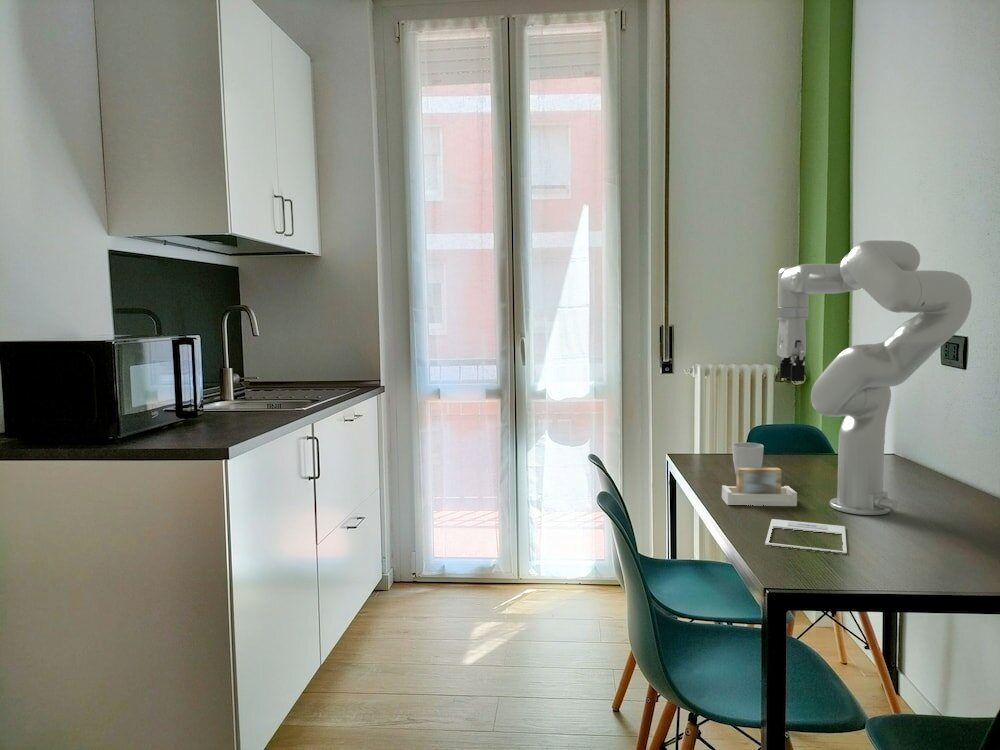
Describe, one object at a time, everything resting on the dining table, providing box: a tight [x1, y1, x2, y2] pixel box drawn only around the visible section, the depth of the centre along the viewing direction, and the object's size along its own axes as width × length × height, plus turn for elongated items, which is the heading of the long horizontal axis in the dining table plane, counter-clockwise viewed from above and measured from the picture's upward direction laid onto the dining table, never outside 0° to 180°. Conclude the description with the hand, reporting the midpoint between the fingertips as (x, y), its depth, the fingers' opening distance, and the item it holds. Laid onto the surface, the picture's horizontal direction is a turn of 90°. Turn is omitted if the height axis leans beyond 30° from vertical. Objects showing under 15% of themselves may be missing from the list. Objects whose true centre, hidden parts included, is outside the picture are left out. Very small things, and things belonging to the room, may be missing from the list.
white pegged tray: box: [721, 484, 798, 507], centre depth 173 cm, size 16×7×3 cm, turn 84°
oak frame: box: [735, 467, 782, 494], centre depth 173 cm, size 10×2×7 cm, turn 85°
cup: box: [732, 442, 765, 474], centre depth 194 cm, size 8×8×10 cm
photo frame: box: [764, 518, 848, 554], centre depth 146 cm, size 15×1×18 cm
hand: (791, 379), depth 187 cm, fingers open, 9 cm apart
